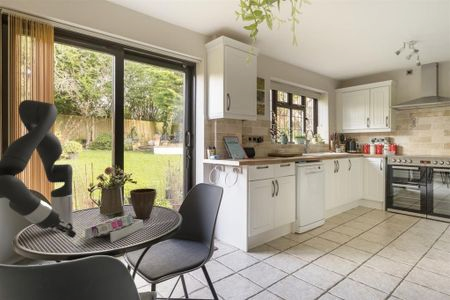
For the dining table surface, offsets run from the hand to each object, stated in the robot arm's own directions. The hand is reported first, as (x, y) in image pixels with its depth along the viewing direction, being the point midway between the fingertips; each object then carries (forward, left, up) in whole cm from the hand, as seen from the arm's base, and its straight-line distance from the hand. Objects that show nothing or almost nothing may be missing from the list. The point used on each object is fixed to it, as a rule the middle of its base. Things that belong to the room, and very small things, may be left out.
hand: (73, 235), depth 100 cm
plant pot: (-4, +47, -6) cm, 47 cm away
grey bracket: (0, +22, -6) cm, 23 cm away
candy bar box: (-1, +11, -2) cm, 11 cm away
